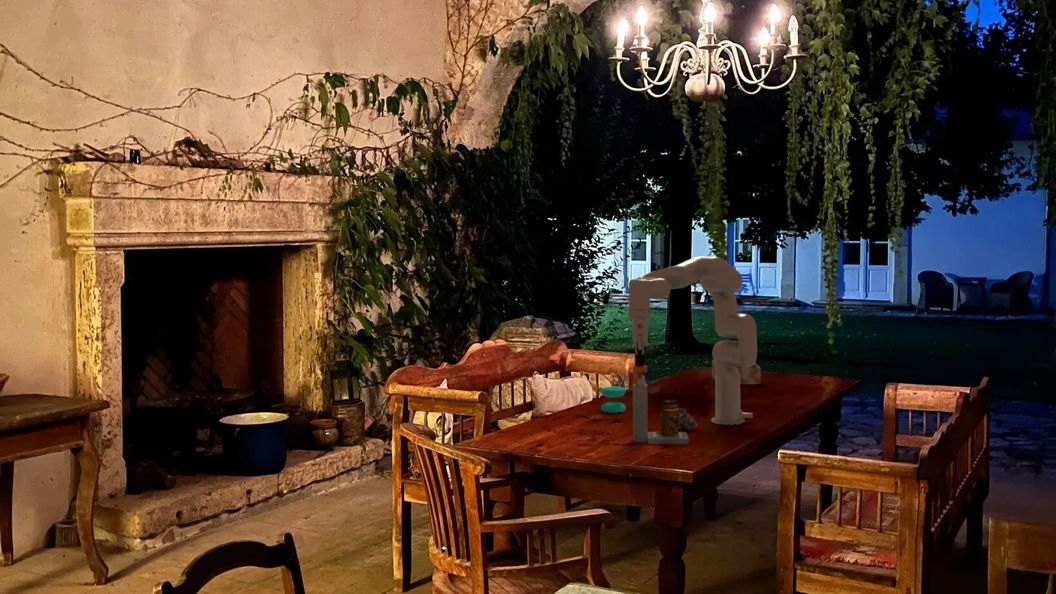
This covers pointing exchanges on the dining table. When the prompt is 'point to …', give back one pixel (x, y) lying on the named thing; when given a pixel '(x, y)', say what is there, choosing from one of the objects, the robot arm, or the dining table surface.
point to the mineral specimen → (685, 420)
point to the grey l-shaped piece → (642, 421)
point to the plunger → (640, 373)
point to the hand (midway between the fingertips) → (639, 365)
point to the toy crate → (746, 374)
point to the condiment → (669, 419)
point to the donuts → (613, 406)
